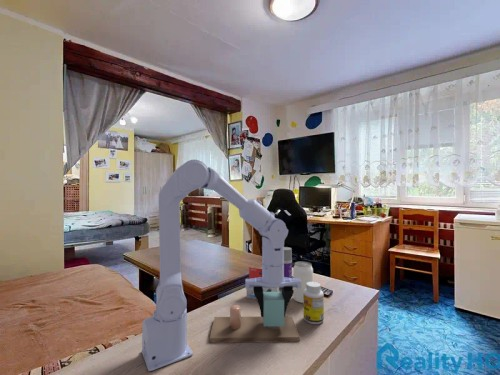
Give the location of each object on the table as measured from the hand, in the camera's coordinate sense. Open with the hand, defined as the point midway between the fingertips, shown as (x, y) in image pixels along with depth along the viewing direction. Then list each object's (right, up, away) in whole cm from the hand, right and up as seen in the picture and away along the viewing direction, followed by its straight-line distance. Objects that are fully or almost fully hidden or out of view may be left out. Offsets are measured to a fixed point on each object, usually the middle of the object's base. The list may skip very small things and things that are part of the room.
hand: (272, 314), depth 66 cm
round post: (-10, -4, 0) cm, 11 cm away
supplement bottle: (+12, -4, +5) cm, 14 cm away
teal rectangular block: (0, -2, 0) cm, 2 cm away
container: (+7, -4, +27) cm, 28 cm away
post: (0, -3, 0) cm, 3 cm away
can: (+12, -4, +18) cm, 22 cm away
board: (-5, -4, 0) cm, 6 cm away
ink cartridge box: (-2, -4, +19) cm, 19 cm away
